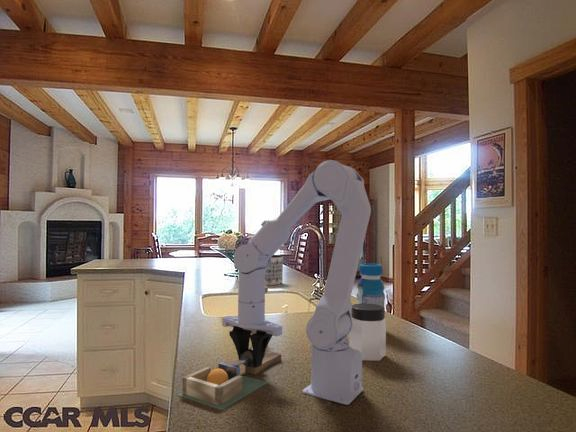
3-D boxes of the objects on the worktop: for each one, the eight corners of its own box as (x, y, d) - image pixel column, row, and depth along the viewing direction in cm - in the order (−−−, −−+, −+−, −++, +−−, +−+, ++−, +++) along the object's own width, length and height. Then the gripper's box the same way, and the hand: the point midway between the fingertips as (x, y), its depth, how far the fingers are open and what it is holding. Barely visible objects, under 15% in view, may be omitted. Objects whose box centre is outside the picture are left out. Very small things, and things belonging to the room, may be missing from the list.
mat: (267, 383, 80) (267, 382, 80) (222, 411, 68) (222, 410, 68) (225, 372, 85) (225, 370, 85) (176, 396, 73) (176, 394, 73)
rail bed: (281, 360, 93) (281, 353, 93) (254, 375, 84) (254, 367, 84) (271, 358, 94) (272, 351, 94) (245, 372, 85) (245, 365, 85)
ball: (230, 366, 76) (216, 379, 72) (233, 384, 77) (220, 397, 73) (214, 362, 78) (200, 374, 74) (218, 380, 79) (204, 392, 75)
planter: (272, 286, 198) (272, 258, 199) (246, 283, 206) (246, 256, 207) (288, 282, 212) (288, 256, 212) (263, 280, 220) (263, 254, 220)
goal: (242, 392, 75) (242, 376, 75) (219, 405, 69) (219, 388, 69) (206, 381, 79) (206, 366, 79) (182, 393, 74) (182, 377, 74)
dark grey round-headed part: (250, 364, 88) (250, 343, 88) (267, 369, 86) (267, 347, 86) (218, 381, 79) (218, 357, 79) (236, 386, 77) (236, 362, 77)
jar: (381, 350, 101) (382, 303, 102) (389, 361, 93) (390, 310, 93) (346, 349, 101) (347, 302, 102) (351, 360, 93) (352, 310, 94)
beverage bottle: (373, 336, 114) (374, 266, 114) (350, 329, 120) (351, 264, 120) (390, 331, 119) (390, 265, 120) (367, 325, 126) (368, 262, 126)
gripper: (290, 301, 84) (289, 365, 84) (236, 294, 92) (235, 352, 92) (271, 307, 78) (270, 376, 78) (216, 299, 86) (215, 361, 86)
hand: (250, 364), depth 85 cm, fingers closed on dark grey round-headed part, 3 cm apart
